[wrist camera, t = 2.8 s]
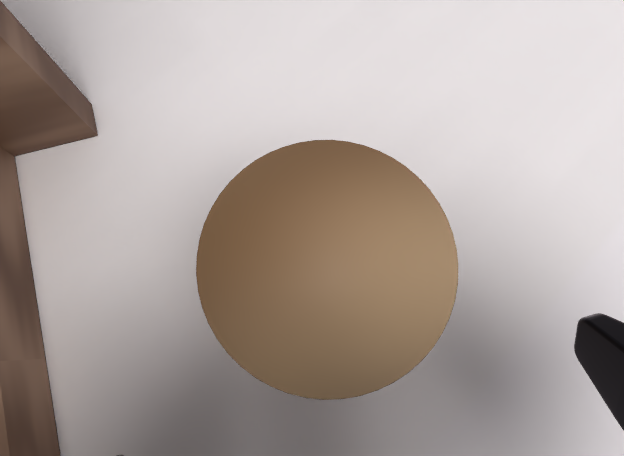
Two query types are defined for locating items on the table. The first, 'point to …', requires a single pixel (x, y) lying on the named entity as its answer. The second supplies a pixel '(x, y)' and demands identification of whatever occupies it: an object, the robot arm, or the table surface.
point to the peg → (327, 269)
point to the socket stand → (12, 234)
